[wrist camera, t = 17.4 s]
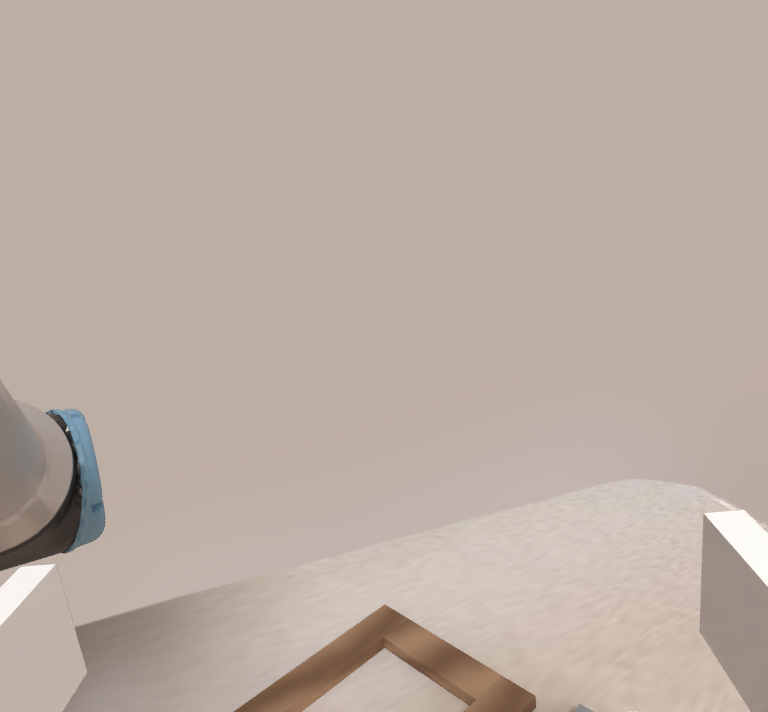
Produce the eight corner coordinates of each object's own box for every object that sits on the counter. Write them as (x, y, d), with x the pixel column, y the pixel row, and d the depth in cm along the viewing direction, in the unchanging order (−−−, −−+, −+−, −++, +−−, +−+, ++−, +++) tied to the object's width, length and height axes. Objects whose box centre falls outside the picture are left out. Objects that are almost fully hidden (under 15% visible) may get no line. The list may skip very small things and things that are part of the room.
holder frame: (231, 725, 47) (229, 714, 47) (386, 613, 58) (384, 604, 57) (373, 881, 36) (371, 868, 36) (535, 707, 46) (535, 696, 46)
